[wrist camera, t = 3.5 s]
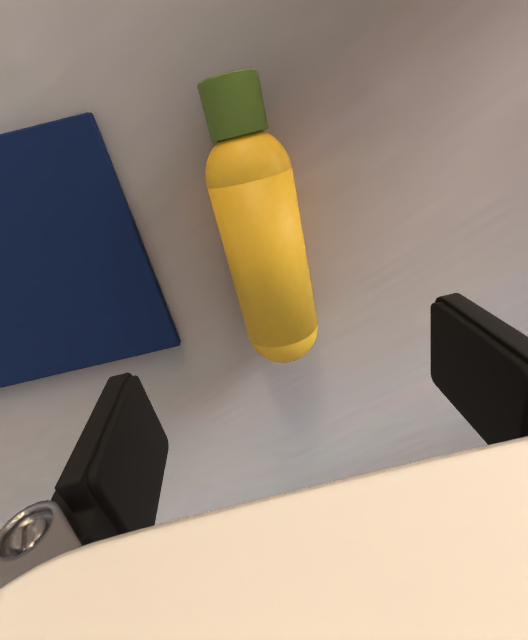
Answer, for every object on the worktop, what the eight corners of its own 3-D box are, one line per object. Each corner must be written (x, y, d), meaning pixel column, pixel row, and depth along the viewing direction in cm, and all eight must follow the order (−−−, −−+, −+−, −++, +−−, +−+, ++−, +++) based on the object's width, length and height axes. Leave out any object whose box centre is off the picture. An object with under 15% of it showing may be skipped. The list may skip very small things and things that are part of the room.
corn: (185, 94, 18) (173, 82, 14) (269, 73, 18) (280, 55, 14) (253, 345, 25) (258, 384, 21) (314, 331, 25) (329, 367, 21)
